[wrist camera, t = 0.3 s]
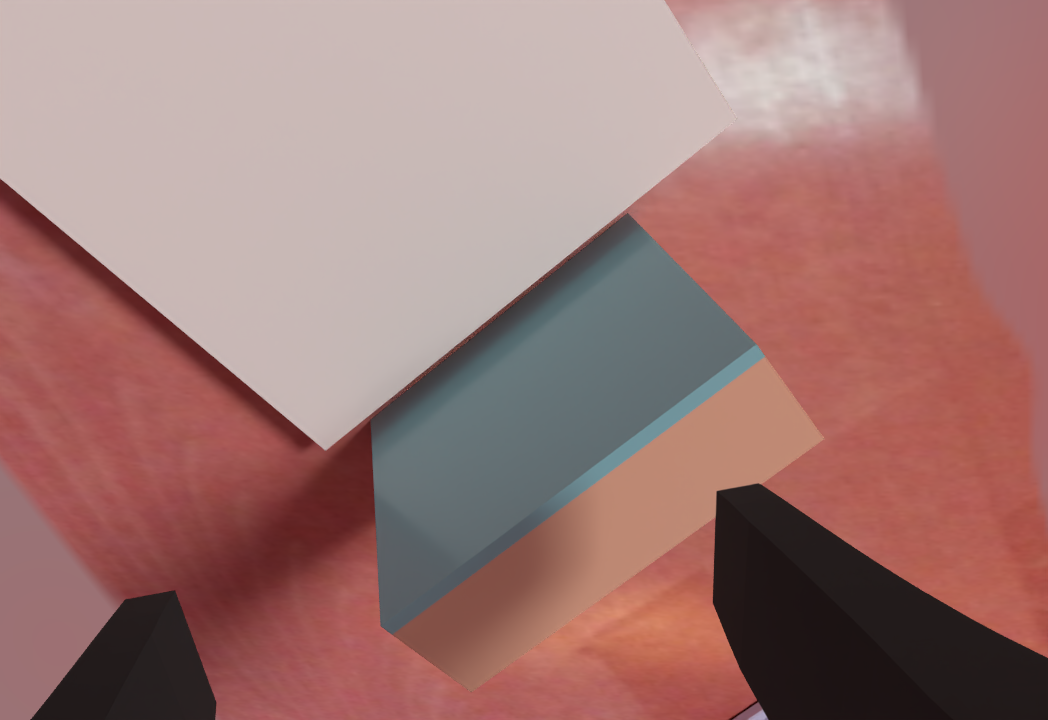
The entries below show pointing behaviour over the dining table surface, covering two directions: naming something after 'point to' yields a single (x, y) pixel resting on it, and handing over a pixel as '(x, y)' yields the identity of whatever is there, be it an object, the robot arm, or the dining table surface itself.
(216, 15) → the pale grey mat
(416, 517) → the glazed tile
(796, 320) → the dining table surface
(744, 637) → the robot arm
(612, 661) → the dining table surface
